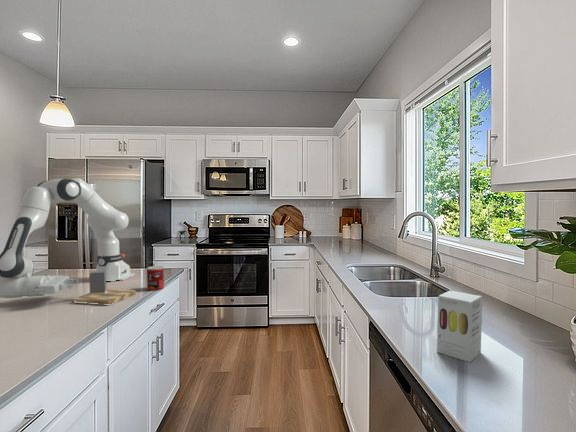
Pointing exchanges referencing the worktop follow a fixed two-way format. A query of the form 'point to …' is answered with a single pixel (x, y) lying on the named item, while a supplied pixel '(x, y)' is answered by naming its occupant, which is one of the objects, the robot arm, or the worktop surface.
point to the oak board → (106, 296)
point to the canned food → (155, 278)
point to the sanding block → (98, 282)
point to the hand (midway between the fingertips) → (75, 283)
